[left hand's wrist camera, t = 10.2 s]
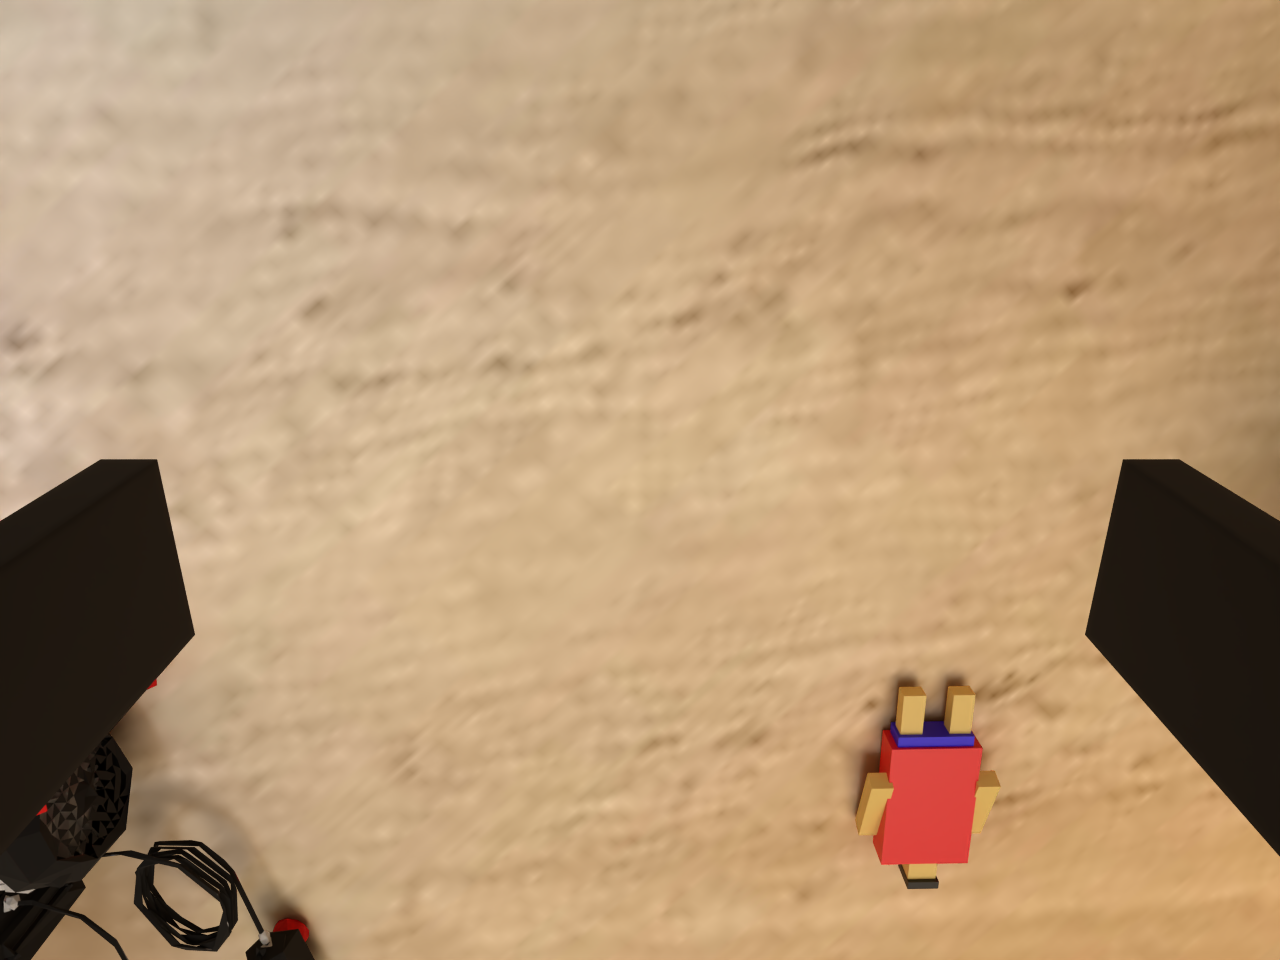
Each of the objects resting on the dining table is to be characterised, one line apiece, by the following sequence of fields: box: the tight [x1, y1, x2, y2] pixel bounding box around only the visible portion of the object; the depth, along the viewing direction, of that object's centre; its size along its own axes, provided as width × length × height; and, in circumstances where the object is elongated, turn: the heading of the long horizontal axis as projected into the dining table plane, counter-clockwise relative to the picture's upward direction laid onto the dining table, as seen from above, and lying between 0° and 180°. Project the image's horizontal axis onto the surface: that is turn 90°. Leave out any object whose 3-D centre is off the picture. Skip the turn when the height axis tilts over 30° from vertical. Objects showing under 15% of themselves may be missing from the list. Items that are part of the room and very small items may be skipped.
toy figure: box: [855, 686, 1001, 889], centre depth 48 cm, size 2×7×12 cm
